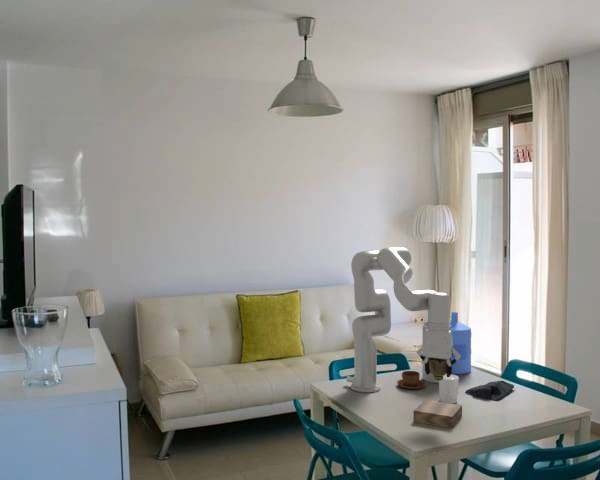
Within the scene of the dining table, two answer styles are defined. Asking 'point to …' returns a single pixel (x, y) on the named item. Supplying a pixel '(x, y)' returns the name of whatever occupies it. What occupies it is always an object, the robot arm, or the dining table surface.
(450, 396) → the white cup
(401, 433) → the dining table surface
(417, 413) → the walnut plinth
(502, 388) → the black crumpled fabric piece
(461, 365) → the water jug
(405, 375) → the cup and saucer
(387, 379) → the dining table surface
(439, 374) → the cup
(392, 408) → the dining table surface
